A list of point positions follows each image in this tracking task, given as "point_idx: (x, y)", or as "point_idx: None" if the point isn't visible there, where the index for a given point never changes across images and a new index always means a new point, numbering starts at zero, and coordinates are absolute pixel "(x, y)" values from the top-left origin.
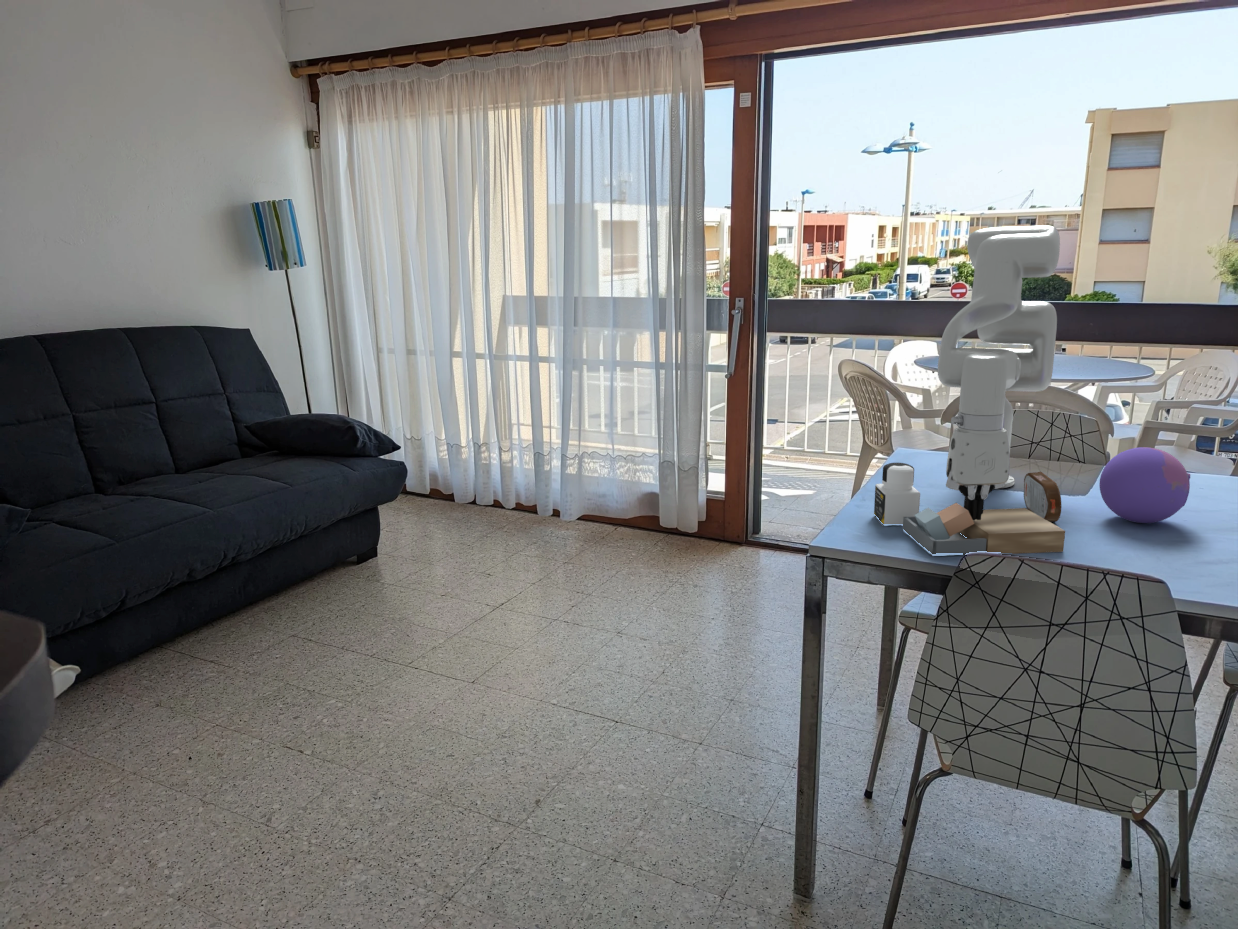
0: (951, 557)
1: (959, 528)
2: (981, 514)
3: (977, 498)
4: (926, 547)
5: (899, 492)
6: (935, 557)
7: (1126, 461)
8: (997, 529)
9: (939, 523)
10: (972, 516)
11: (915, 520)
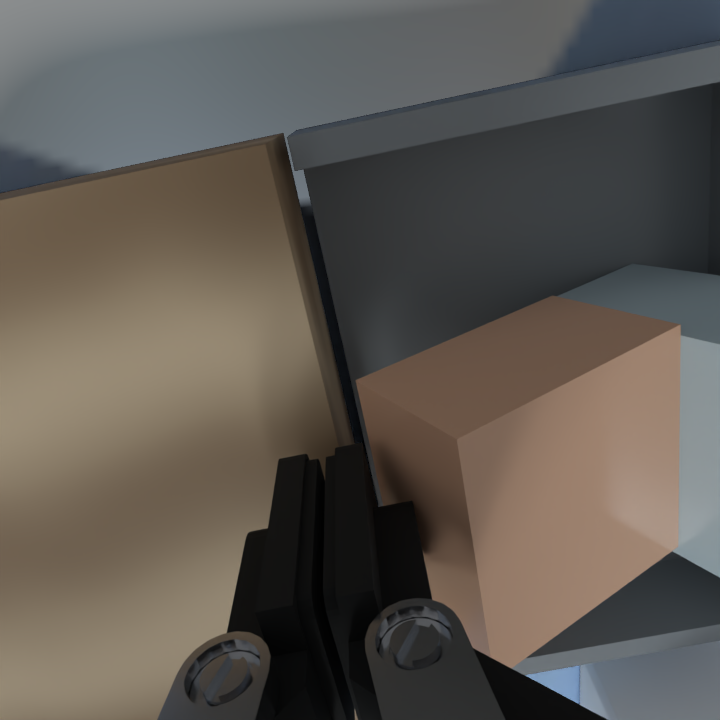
0: (576, 46)
1: (492, 335)
2: None
3: (310, 658)
4: None
5: None
6: (703, 35)
7: None
8: (152, 296)
9: (713, 328)
10: (365, 465)
11: (677, 611)
